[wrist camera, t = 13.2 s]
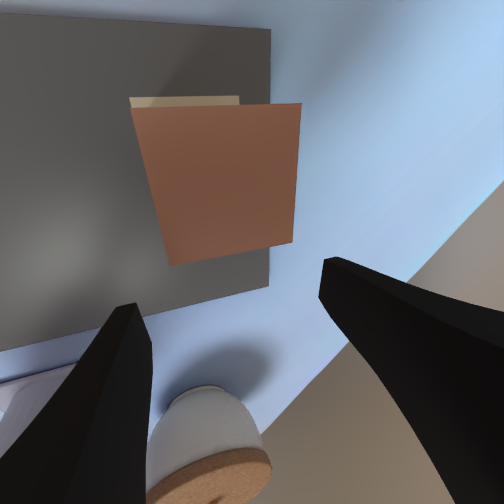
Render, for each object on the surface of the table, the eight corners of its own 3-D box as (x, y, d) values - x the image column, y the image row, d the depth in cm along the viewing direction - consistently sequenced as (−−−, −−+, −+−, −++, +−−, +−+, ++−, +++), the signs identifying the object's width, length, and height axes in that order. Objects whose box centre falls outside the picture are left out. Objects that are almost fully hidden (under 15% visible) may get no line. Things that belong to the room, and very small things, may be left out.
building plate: (264, 280, 23) (268, 286, 22) (-15, 345, 17) (-24, 357, 16) (264, 34, 14) (270, 29, 13) (-339, 1, 8) (-399, -13, 7)
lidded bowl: (166, 366, 24) (169, 514, 15) (262, 371, 31) (305, 479, 22) (127, 438, 28) (112, 591, 19) (220, 430, 34) (241, 542, 25)
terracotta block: (253, 205, 13) (292, 242, 9) (166, 217, 11) (170, 266, 8) (251, 107, 10) (301, 103, 7) (141, 110, 9) (129, 107, 5)
